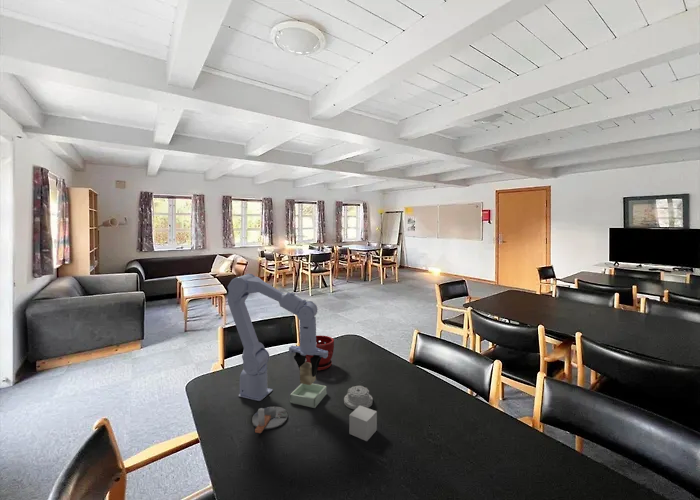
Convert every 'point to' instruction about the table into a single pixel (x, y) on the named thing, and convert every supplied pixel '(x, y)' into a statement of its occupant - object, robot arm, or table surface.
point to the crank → (264, 418)
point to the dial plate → (274, 422)
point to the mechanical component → (358, 397)
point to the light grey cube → (363, 423)
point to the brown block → (306, 374)
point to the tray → (308, 395)
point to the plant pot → (328, 347)
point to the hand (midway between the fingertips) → (308, 374)
